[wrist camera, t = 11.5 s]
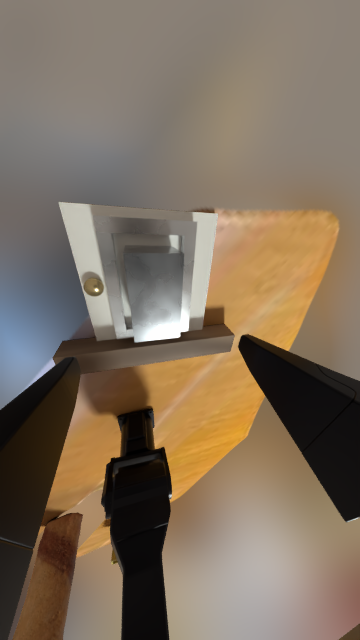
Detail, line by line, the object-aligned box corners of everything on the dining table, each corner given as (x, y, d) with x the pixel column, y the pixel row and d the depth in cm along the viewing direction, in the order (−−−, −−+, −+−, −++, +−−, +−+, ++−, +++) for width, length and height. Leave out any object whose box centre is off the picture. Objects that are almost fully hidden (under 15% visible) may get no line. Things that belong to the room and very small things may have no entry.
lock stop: (170, 314, 21) (180, 337, 16) (134, 317, 19) (134, 342, 15) (171, 245, 16) (184, 253, 12) (125, 245, 15) (123, 253, 11)
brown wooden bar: (221, 339, 26) (230, 351, 24) (70, 359, 21) (61, 377, 19) (224, 323, 25) (234, 335, 22) (62, 341, 20) (52, 358, 17)
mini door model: (200, 326, 24) (205, 334, 22) (98, 337, 21) (95, 347, 19) (214, 214, 17) (223, 213, 15) (62, 202, 13) (52, 200, 12)
